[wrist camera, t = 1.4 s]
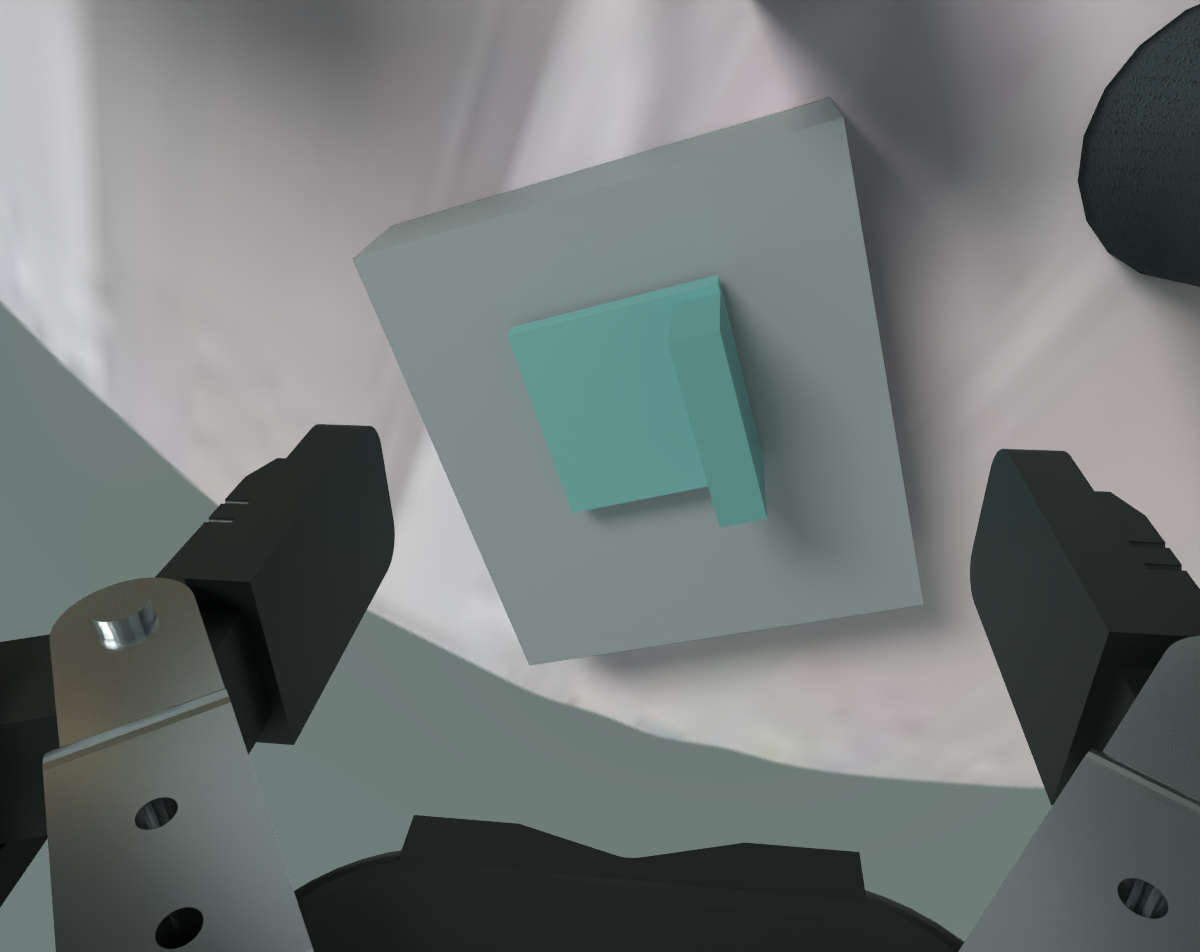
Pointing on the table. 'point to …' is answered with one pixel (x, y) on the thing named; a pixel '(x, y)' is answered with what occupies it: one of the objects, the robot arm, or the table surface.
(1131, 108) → the mug
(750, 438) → the shutter
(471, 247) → the socket plate
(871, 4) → the table surface
